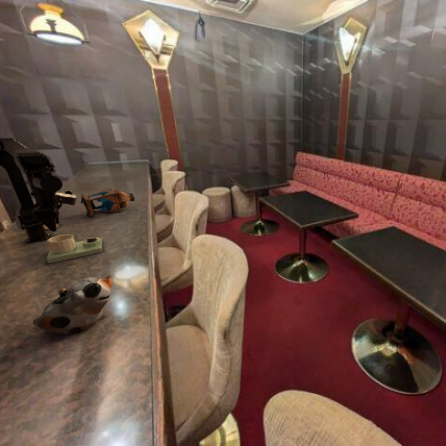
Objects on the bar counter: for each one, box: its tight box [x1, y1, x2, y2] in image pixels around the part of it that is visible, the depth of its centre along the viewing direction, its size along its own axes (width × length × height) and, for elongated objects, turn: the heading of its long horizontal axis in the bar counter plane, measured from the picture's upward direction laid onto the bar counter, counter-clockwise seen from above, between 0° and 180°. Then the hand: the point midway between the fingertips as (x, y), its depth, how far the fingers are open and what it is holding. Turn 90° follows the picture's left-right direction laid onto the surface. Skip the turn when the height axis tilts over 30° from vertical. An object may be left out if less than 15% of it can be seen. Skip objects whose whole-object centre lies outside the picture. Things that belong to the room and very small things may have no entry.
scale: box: [46, 237, 103, 264], centre depth 100 cm, size 16×12×4 cm
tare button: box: [86, 235, 97, 243], centre depth 102 cm, size 3×3×2 cm
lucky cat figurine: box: [32, 275, 113, 335], centre depth 65 cm, size 15×12×14 cm
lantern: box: [80, 187, 136, 218], centre depth 145 cm, size 16×16×25 cm
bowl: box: [46, 233, 77, 253], centre depth 97 cm, size 7×7×5 cm
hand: (56, 227), depth 95 cm, fingers open, 9 cm apart
